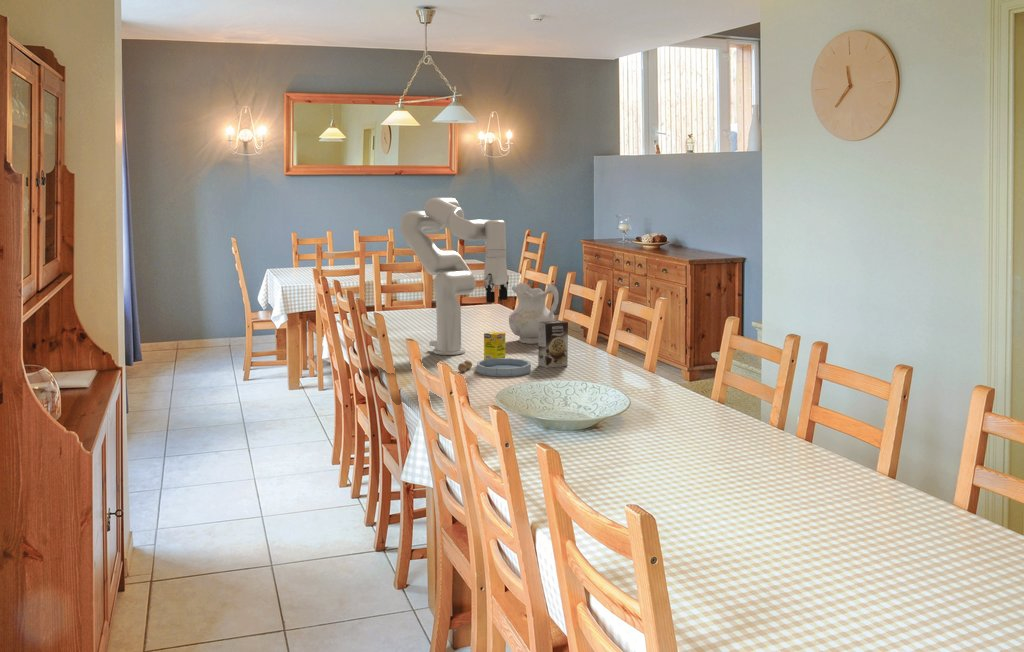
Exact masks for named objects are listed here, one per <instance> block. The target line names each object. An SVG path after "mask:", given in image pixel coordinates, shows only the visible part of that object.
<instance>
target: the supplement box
mask: <svg viewBox="0 0 1024 652" xmlns="http://www.w3.org/2000/svg"><path fill="white" fill-rule="evenodd" d="M494 358H506V332H501V331H490V332H486V333H485V332H484V333H483V360H486V359H494Z"/></svg>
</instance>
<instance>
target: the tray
mask: <svg viewBox="0 0 1024 652" xmlns="http://www.w3.org/2000/svg"><path fill="white" fill-rule="evenodd" d="M531 365H532V363H531V361H529V360H526V359H522V358H521V359H520V358H514V357H513V358H511V357H505V358H494V359H486V360H484V359H481V360H480V361H479V360H478V361H477V362H476V373H478V374H479V375H482V376H488V377H495V378H496V377H497V378H505V377H507V378H509V377H519V376H526V375H528V374H530V373H531V370H532V369H531V367H532V366H531Z"/></svg>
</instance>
